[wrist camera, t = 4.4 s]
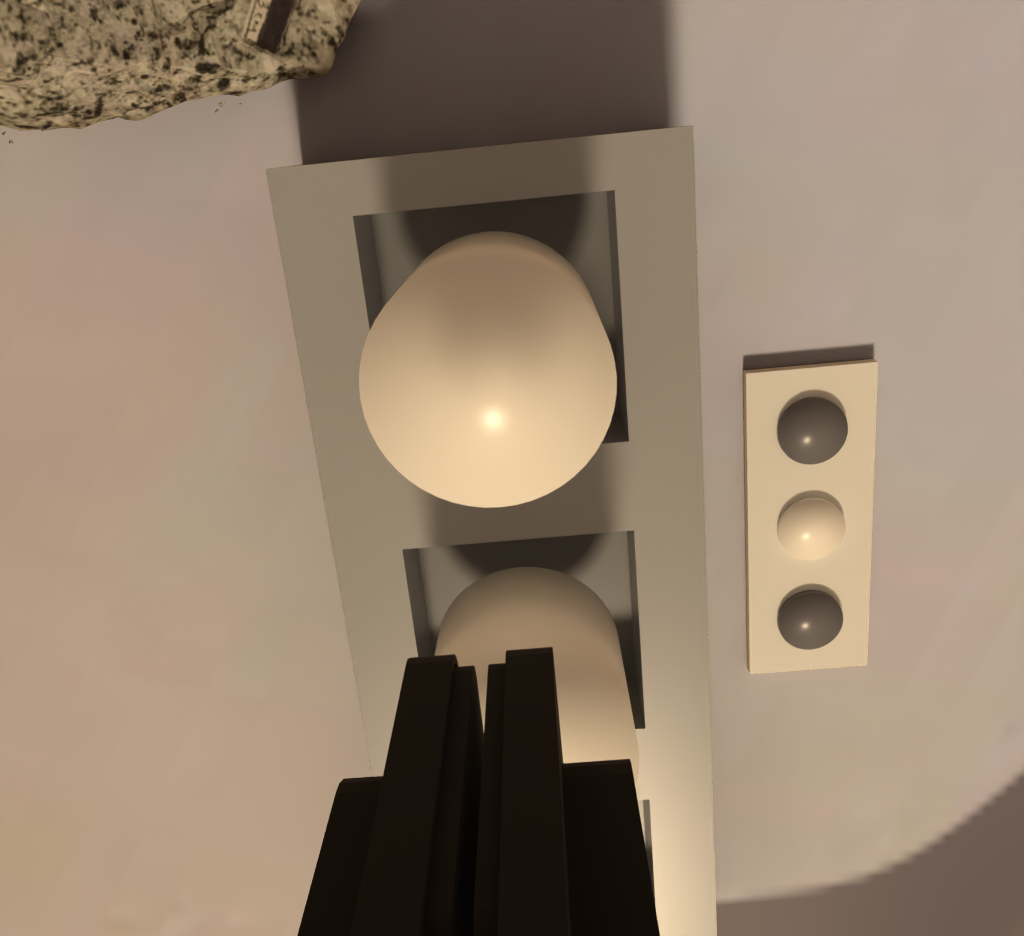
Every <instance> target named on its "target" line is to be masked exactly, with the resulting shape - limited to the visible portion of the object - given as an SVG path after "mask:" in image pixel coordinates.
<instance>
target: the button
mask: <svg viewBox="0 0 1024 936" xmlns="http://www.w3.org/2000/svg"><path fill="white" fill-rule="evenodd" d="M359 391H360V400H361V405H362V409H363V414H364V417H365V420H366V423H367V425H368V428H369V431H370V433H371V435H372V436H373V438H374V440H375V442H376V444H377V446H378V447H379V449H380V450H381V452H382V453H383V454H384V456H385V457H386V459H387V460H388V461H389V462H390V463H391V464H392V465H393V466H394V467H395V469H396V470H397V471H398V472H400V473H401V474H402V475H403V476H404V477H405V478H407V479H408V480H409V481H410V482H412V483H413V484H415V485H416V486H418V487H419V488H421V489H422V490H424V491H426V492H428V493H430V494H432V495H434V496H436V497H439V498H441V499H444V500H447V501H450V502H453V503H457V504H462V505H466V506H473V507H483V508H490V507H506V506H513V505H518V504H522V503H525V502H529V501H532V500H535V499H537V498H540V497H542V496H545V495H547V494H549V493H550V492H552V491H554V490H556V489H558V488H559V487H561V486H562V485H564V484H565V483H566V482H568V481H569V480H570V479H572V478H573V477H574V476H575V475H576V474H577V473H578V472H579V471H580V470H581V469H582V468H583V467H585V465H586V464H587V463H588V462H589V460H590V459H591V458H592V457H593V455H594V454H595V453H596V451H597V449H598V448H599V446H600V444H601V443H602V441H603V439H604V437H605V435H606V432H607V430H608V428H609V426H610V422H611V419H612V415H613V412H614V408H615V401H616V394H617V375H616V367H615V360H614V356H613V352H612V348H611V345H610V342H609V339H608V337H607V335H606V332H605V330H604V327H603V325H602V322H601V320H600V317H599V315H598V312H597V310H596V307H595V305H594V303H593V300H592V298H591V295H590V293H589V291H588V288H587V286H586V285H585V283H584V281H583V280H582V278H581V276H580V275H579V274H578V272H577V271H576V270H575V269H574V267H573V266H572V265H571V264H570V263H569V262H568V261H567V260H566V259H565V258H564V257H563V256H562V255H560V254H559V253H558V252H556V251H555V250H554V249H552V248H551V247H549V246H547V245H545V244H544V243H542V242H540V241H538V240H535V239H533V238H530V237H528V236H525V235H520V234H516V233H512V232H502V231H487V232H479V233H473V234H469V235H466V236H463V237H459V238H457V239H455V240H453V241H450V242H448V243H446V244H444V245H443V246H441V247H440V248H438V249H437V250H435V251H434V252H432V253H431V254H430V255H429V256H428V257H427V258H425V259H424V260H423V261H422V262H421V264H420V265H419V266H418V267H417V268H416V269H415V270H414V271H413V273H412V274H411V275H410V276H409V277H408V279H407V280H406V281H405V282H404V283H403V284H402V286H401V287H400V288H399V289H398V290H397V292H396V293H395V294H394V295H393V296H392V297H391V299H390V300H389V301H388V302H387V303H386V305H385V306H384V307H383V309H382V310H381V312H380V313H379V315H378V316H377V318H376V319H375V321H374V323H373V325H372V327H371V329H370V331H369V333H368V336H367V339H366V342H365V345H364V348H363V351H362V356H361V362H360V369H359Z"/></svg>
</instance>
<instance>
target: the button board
mask: <svg viewBox="0 0 1024 936" xmlns="http://www.w3.org/2000/svg"><path fill="white" fill-rule="evenodd" d="M266 173H267V179H268V184H269V190H270V196H271V201H272V207H273V213H274V218H275V224H276V230H277V235H278V241H279V247H280V253H281V258H282V264H283V270H284V275H285V281H286V287H287V292H288V298H289V304H290V309H291V315H292V321H293V327H294V332H295V338H296V344H297V349H298V355H299V361H300V366H301V372H302V378H303V384H304V389H305V395H306V401H307V406H308V412H309V418H310V423H311V429H312V435H313V440H314V446H315V452H316V458H317V463H318V469H319V475H320V480H321V486H322V492H323V497H324V503H325V509H326V514H327V520H328V526H329V532H330V537H331V543H332V549H333V554H334V560H335V566H336V571H337V577H338V583H339V589H340V594H341V600H342V606H343V611H344V617H345V623H346V628H347V634H348V640H349V645H350V651H351V657H352V663H353V668H354V674H355V680H356V685H357V691H358V697H359V702H360V708H361V714H362V719H363V725H364V731H365V737H366V742H367V748H368V754H369V759H370V765H371V771H372V776H373V777H377V776H383V773H384V768H385V763H386V758H387V754H388V749H389V744H390V739H391V734H392V729H393V724H394V720H395V715H396V710H397V705H398V700H399V695H400V690H401V686H402V681H403V676H404V671H405V666H406V662H407V659H408V658H412V657H425V656H435V651H436V645H437V639H438V634H439V630H440V626H441V623H442V620H443V618H444V615H445V613H446V612H447V610H448V608H449V607H450V605H451V604H452V602H453V601H454V600H455V599H456V597H457V596H458V595H459V594H460V593H461V592H462V591H463V590H464V589H466V588H467V587H468V586H470V585H471V584H472V583H474V582H475V581H477V580H479V579H481V578H483V577H484V576H487V575H489V574H492V573H494V572H497V571H501V570H505V569H510V568H517V567H539V568H546V569H551V570H555V571H558V572H561V573H564V574H567V575H569V576H571V577H573V578H575V579H577V580H579V581H580V582H582V583H583V584H585V585H586V586H588V587H589V588H590V589H591V590H592V591H593V592H595V593H596V594H597V595H598V597H599V598H600V599H601V600H602V601H603V602H604V604H605V605H606V607H607V608H608V610H609V611H610V613H611V616H612V618H613V620H614V622H615V626H616V629H617V633H618V638H619V644H620V649H621V655H622V660H623V666H624V671H625V677H626V682H627V687H628V693H629V698H630V704H631V709H632V715H633V720H634V726H635V731H636V736H637V742H638V748H639V756H640V761H639V773H638V779H637V783H636V785H635V788H636V794H637V800H638V806H639V812H640V818H641V824H642V830H643V836H644V842H645V848H646V854H647V860H648V866H649V872H650V878H651V884H652V890H653V896H654V902H655V908H656V914H657V920H658V926H659V932H660V936H717V926H716V925H717V924H716V891H715V857H714V823H713V789H712V755H711V721H710V687H709V653H708V619H707V585H706V552H705V518H704V484H703V450H702V416H701V382H700V348H699V314H698V280H697V247H696V213H695V179H694V145H693V126H681V127H668V128H658V129H648V130H639V131H629V132H619V133H609V134H599V135H589V136H580V137H570V138H560V139H550V140H540V141H531V142H521V143H511V144H501V145H491V146H481V147H472V148H462V149H452V150H442V151H432V152H423V153H413V154H403V155H393V156H383V157H373V158H364V159H354V160H344V161H334V162H324V163H315V164H305V165H296V166H288V167H279V168H271V169H266ZM487 231H502V232H512V233H516V234H520V235H525V236H528V237H530V238H533V239H535V240H538V241H540V242H542V243H544V244H545V245H547V246H549V247H551V248H552V249H554V250H555V251H556V252H558V253H559V254H560V255H562V256H563V257H564V258H565V259H566V260H567V261H568V262H569V263H570V264H571V265H572V266H573V267H574V269H575V270H576V271H577V272H578V274H579V275H580V276H581V278H582V280H583V281H584V283H585V285H586V286H587V288H588V291H589V293H590V295H591V298H592V300H593V303H594V305H595V307H596V310H597V312H598V315H599V317H600V320H601V322H602V325H603V327H604V330H605V332H606V335H607V337H608V339H609V342H610V345H611V348H612V352H613V356H614V360H615V367H616V375H617V394H616V401H615V408H614V412H613V415H612V419H611V422H610V426H609V428H608V430H607V432H606V435H605V437H604V439H603V441H602V443H601V444H600V446H599V448H598V449H597V451H596V453H595V454H594V455H593V457H592V458H591V459H590V460H589V462H588V463H587V464H586V465H585V467H583V468H582V469H581V470H580V471H579V472H578V473H577V474H576V475H575V476H574V477H573V478H572V479H570V480H569V481H568V482H566V483H565V484H564V485H562V486H561V487H559V488H558V489H556V490H554V491H552V492H550V493H549V494H547V495H545V496H542V497H540V498H537V499H535V500H532V501H529V502H525V503H522V504H518V505H513V506H506V507H490V508H483V507H473V506H466V505H462V504H457V503H453V502H450V501H447V500H444V499H441V498H439V497H436V496H434V495H432V494H430V493H428V492H426V491H424V490H422V489H421V488H419V487H418V486H416V485H415V484H413V483H412V482H410V481H409V480H408V479H407V478H405V477H404V476H403V475H402V474H401V473H400V472H398V471H397V470H396V469H395V467H394V466H393V465H392V464H391V463H390V462H389V461H388V460H387V459H386V457H385V456H384V454H383V453H382V452H381V450H380V449H379V447H378V446H377V444H376V442H375V440H374V438H373V436H372V435H371V433H370V431H369V428H368V425H367V423H366V420H365V417H364V414H363V409H362V405H361V400H360V391H359V369H360V362H361V356H362V351H363V348H364V345H365V342H366V339H367V336H368V333H369V331H370V329H371V327H372V325H373V323H374V321H375V319H376V318H377V316H378V315H379V313H380V312H381V310H382V309H383V307H384V306H385V305H386V303H387V302H388V301H389V300H390V299H391V297H392V296H393V295H394V294H395V293H396V292H397V290H398V289H399V288H400V287H401V286H402V284H403V283H404V282H405V281H406V280H407V279H408V277H409V276H410V275H411V274H412V273H413V271H414V270H415V269H416V268H417V267H418V266H419V265H420V264H421V262H422V261H423V260H424V259H425V258H427V257H428V256H429V255H430V254H431V253H432V252H434V251H435V250H437V249H438V248H440V247H441V246H443V245H444V244H446V243H448V242H450V241H453V240H455V239H457V238H459V237H463V236H466V235H469V234H473V233H479V232H487Z"/></svg>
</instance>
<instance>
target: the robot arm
mask: <svg viewBox="0 0 1024 936" xmlns="http://www.w3.org/2000/svg"><path fill="white" fill-rule="evenodd" d="M298 936H660V932H659V926H658V920H657V914H656V908H655V902H654V896H653V890H652V884H651V878H650V872H649V866H648V860H647V854H646V848H645V842H644V836H643V830H642V824H641V818H640V812H639V806H638V800H637V794H636V788H635V782H634V776H633V770H632V765H631V761H630V759H619V760H605V761H591V762H577V763H563V754H562V743H561V732H560V721H559V710H558V699H557V688H556V677H555V666H554V655H553V647H544V648H531V649H518V650H506V657H505V663H500V664H489V665H488V675H487V692H486V709H485V726H484V731H483V723H482V715H481V707H480V699H479V691H478V683H477V676H476V670H475V667H474V666H460V667H459V666H458V661H457V657H456V655H455V654H451V655H438V656H425V657H412V658H408V659H407V662H406V666H405V671H404V676H403V681H402V686H401V690H400V695H399V700H398V705H397V710H396V715H395V720H394V724H393V729H392V734H391V739H390V744H389V749H388V754H387V758H386V763H385V768H384V773H383V776H377V777H363V778H348V779H343V780H342V781H341V782H340V783H339V786H338V789H337V791H336V794H335V798H334V802H333V806H332V809H331V813H330V817H329V820H328V824H327V828H326V832H325V835H324V839H323V843H322V846H321V850H320V854H319V858H318V861H317V865H316V869H315V872H314V876H313V880H312V884H311V887H310V891H309V895H308V899H307V902H306V906H305V910H304V913H303V917H302V921H301V925H300V928H299V932H298Z"/></svg>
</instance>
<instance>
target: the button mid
mask: <svg viewBox="0 0 1024 936" xmlns="http://www.w3.org/2000/svg"><path fill="white" fill-rule="evenodd" d="M544 647H553V655H554V666H555V677H556V688H557V699H558V710H559V721H560V732H561V743H562V754H563V763H577V762H591V761H605V760H619V759H630V761H631V765H632V770H633V776H634V782H635V785H636V783H637V779H638V773H639V761H640V756H639V748H638V742H637V736H636V731H635V726H634V720H633V715H632V709H631V704H630V698H629V693H628V687H627V682H626V677H625V671H624V666H623V660H622V655H621V649H620V644H619V638H618V633H617V629H616V626H615V622H614V620H613V618H612V616H611V613H610V611H609V610H608V608H607V607H606V605H605V604H604V602H603V601H602V600H601V599H600V598H599V597H598V595H597V594H596V593H595V592H593V591H592V590H591V589H590V588H589V587H588V586H586V585H585V584H583V583H582V582H580V581H579V580H577V579H575V578H573V577H571V576H569V575H567V574H564V573H561V572H558V571H555V570H551V569H546V568H539V567H517V568H510V569H505V570H501V571H497V572H494V573H492V574H489V575H487V576H484V577H483V578H481V579H479V580H477V581H475V582H474V583H472V584H471V585H470V586H468V587H467V588H466V589H464V590H463V591H462V592H461V593H460V594H459V595H458V596H457V597H456V599H455V600H454V601H453V602H452V604H451V605H450V607H449V608H448V610H447V612H446V613H445V615H444V618H443V620H442V623H441V626H440V630H439V634H438V639H437V645H436V651H435V656H438V655H451V654H455V655H456V657H457V661H458V666H459V667H460V666H474V667H475V670H476V676H477V683H478V691H479V699H480V707H481V715H482V723H483V731H484V726H485V709H486V692H487V675H488V665H489V664H500V663H505V657H506V650H518V649H531V648H544Z"/></svg>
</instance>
